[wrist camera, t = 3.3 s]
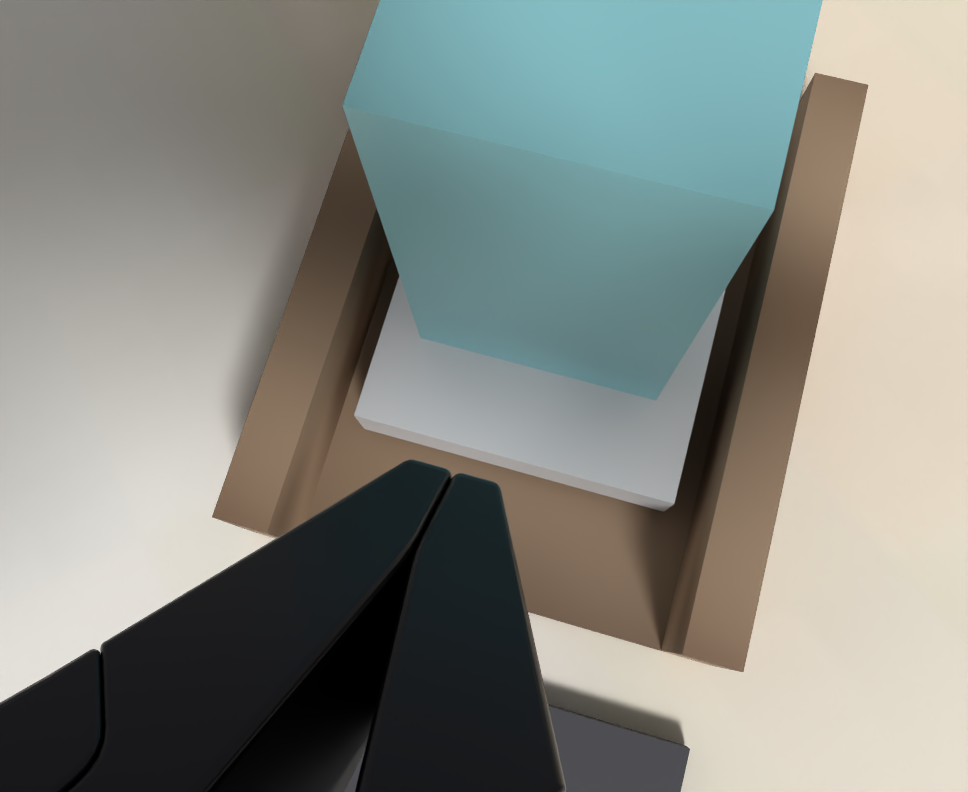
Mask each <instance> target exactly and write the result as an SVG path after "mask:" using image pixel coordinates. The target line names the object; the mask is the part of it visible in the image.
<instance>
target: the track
mask: <svg viewBox="0 0 968 792" xmlns="http://www.w3.org/2000/svg"><path fill="white" fill-rule="evenodd" d="M867 89H868V85H867V84H862V83H858V82H853V81H849V80H844V79H840V78H836V77H831V76H827V75H822V74H818V73H815V74H814V76H813V78H812V80H811V82H810V83H809V85H808V87H807V89H806V91H805V93H804V95H803V96H802V98H801V100H800V102H799V104H798V109H797V113H796V117H795V122H794V126H793V130H792V135H791V139H790V143H789V148H788V152H787V156H786V161H785V165H784V169H783V174H782V178H781V182H780V187H779V191H778V195H777V200H776V204H775V208H774V211H773V213H772V214H771V216H770V217H769V219H768V221H767V222H766V224H765V226H764V227H763V229H762V230H761V232H760V234H759V235H758V237H757V238H756V240H755V242H754V243H753V245H752V247H751V248H750V250H749V251H748V253H747V255H746V256H745V258H744V259H743V261H742V263H741V264H740V266H739V267H738V269H737V271H736V272H735V274H734V276H733V277H732V279H731V280H730V282H729V284H728V285H727V287H726V289H725V294H724V298H723V302H722V306H721V310H720V315H719V319H718V323H717V327H716V331H715V336H714V340H713V344H712V348H711V352H710V356H709V361H708V365H707V369H706V373H705V377H704V382H703V386H702V390H701V394H700V398H699V403H698V407H697V411H696V415H695V419H694V423H693V428H692V432H691V436H690V440H689V444H688V449H687V453H686V457H685V461H684V465H683V469H682V474H681V478H680V482H679V486H678V490H677V495H676V499H675V503H674V504H673V505H672V506H671V507H670V508H668V509H667V510H666V511H664V512H663V511H659V510H655V509H652V508H648V507H645V506H641V505H637V504H634V503H630V502H627V501H623V500H619V499H616V498H612V497H608V496H605V495H601V494H598V493H594V492H590V491H587V490H583V489H580V488H576V487H572V486H569V485H565V484H562V483H558V482H554V481H551V480H547V479H544V478H540V477H536V476H533V475H529V474H525V473H522V472H518V471H515V470H511V469H507V468H504V467H500V466H497V465H493V464H489V463H486V462H482V461H479V460H475V459H471V458H468V457H464V456H461V455H457V454H453V453H450V452H446V451H442V450H439V449H435V448H432V447H428V446H424V445H421V444H417V443H414V442H410V441H406V440H403V439H399V438H396V437H392V436H388V435H385V434H381V433H377V432H374V431H370V430H367V429H364V428H363V426H362V425H361V424H360V423H359V421H358V420H357V419H356V418H355V416H354V414H355V411H356V408H357V404H358V401H359V398H360V395H361V392H362V389H363V386H364V383H365V380H366V377H367V374H368V371H369V368H370V364H371V361H372V358H373V355H374V352H375V349H376V346H377V343H378V340H379V337H380V334H381V331H382V328H383V325H384V321H385V318H386V315H387V312H388V309H389V306H390V303H391V300H392V297H393V294H394V291H395V288H396V285H397V281H398V278H399V273H398V270H397V267H396V264H395V261H394V258H393V255H392V252H391V249H390V246H389V243H388V240H387V237H386V234H385V231H384V228H383V225H382V222H381V219H380V216H379V213H378V210H377V207H376V204H375V201H374V199H373V196H372V193H371V190H370V187H369V184H368V181H367V178H366V175H365V172H364V169H363V166H362V163H361V160H360V157H359V154H358V151H357V148H356V145H355V142H354V139H353V136H352V133H351V130H350V127H349V129H348V132H347V135H346V138H345V141H344V144H343V147H342V149H341V152H340V155H339V158H338V161H337V164H336V166H335V169H334V172H333V175H332V178H331V181H330V183H329V186H328V189H327V192H326V195H325V198H324V200H323V203H322V206H321V209H320V212H319V215H318V217H317V220H316V223H315V226H314V229H313V232H312V235H311V237H310V240H309V243H308V246H307V249H306V252H305V254H304V257H303V260H302V263H301V266H300V269H299V271H298V274H297V277H296V280H295V283H294V286H293V288H292V291H291V294H290V297H289V300H288V303H287V305H286V308H285V311H284V314H283V317H282V320H281V323H280V325H279V328H278V331H277V334H276V337H275V340H274V342H273V345H272V348H271V351H270V354H269V357H268V359H267V362H266V365H265V368H264V371H263V374H262V376H261V379H260V382H259V385H258V388H257V391H256V393H255V396H254V399H253V402H252V405H251V408H250V411H249V413H248V416H247V419H246V422H245V425H244V428H243V430H242V433H241V436H240V439H239V442H238V445H237V447H236V450H235V453H234V456H233V459H232V462H231V464H230V467H229V470H228V473H227V476H226V479H225V481H224V484H223V487H222V490H221V493H220V496H219V499H218V501H217V504H216V507H215V510H214V513H213V516H212V517H213V518H216V519H219V520H222V521H224V522H227V523H230V524H233V525H236V526H239V527H242V528H244V529H247V530H250V531H253V532H256V533H260V534H263V535H267V536H270V537H274V538H278V537H279V536H281V535H283V534H284V533H286V532H288V531H289V530H291V529H293V528H294V527H296V526H298V525H299V524H301V523H303V522H304V521H306V520H308V519H309V518H311V517H313V516H314V515H316V514H318V513H319V512H321V511H323V510H324V509H326V508H328V507H329V506H331V505H333V504H334V503H336V502H338V501H339V500H341V499H342V498H344V497H346V496H347V495H349V494H351V493H352V492H354V491H356V490H357V489H359V488H361V487H362V486H364V485H366V484H367V483H369V482H371V481H372V480H374V479H376V478H377V477H379V476H381V475H382V474H384V473H386V472H387V471H389V470H391V469H392V468H394V467H396V466H397V465H399V464H401V463H402V462H404V461H406V460H410V459H413V460H418V461H422V462H425V463H429V464H432V465H436V466H439V467H443V468H446V469H448V470H449V471H450V472H451V474H452V477H453V476H454V475H456V474H458V473H464V474H468V475H472V476H475V477H479V478H482V479H486V480H489V481H493V482H495V483H497V484H498V485H499V487H500V489H501V492H502V496H503V501H504V505H505V510H506V514H507V519H508V524H509V528H510V533H511V537H512V542H513V546H514V551H515V556H516V560H517V565H518V569H519V574H520V579H521V583H522V588H523V592H524V597H525V601H526V606H527V611H528V612H530V613H534V614H537V615H541V616H544V617H547V618H551V619H554V620H558V621H561V622H564V623H568V624H571V625H575V626H578V627H582V628H585V629H588V630H592V631H595V632H599V633H602V634H606V635H609V636H612V637H616V638H619V639H623V640H626V641H630V642H633V643H636V644H640V645H643V646H647V647H650V648H653V649H657V650H660V651H664V652H667V653H671V654H674V655H677V656H681V657H684V658H688V659H691V660H695V661H698V662H701V663H705V664H708V665H712V666H716V667H721V668H726V669H731V670H735V671H740V672H743V671H744V666H745V662H746V657H747V652H748V648H749V643H750V638H751V633H752V629H753V624H754V619H755V615H756V610H757V605H758V601H759V596H760V591H761V586H762V582H763V577H764V572H765V568H766V563H767V558H768V554H769V549H770V544H771V540H772V535H773V530H774V525H775V521H776V516H777V511H778V507H779V502H780V497H781V493H782V488H783V483H784V478H785V474H786V469H787V464H788V460H789V455H790V450H791V446H792V441H793V436H794V431H795V427H796V422H797V417H798V413H799V408H800V403H801V399H802V394H803V389H804V385H805V380H806V375H807V370H808V366H809V361H810V356H811V352H812V347H813V342H814V338H815V333H816V328H817V323H818V319H819V314H820V309H821V305H822V300H823V295H824V291H825V286H826V281H827V276H828V272H829V267H830V262H831V258H832V253H833V248H834V244H835V239H836V234H837V230H838V225H839V220H840V215H841V211H842V206H843V201H844V197H845V192H846V187H847V183H848V178H849V173H850V168H851V164H852V159H853V154H854V150H855V145H856V140H857V136H858V131H859V126H860V121H861V117H862V112H863V107H864V103H865V98H866V93H867Z"/></svg>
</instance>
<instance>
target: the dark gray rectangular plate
mask: <svg viewBox="0 0 968 792" xmlns="http://www.w3.org/2000/svg"><path fill="white" fill-rule="evenodd" d="M548 707H549V711H550V716H551V721H552V725H553V730H554V734H555V739H556V743H557V748H558V753H559V757H560V762H561V766H562V771H563V775H564V780H565V785H566V792H680V791H681V787H682V782H683V778H684V773H685V769H686V764H687V760H688V755H689V751H690V749H689V748H688V747H687V746H684V745H681V744H678V743H674V742H671V741H668V740H664V739H661V738H658V737H654V736H651V735H648V734H644V733H641V732H638V731H635V730H631V729H628V728H625V727H621V726H618V725H615V724H611V723H608V722H605V721H601V720H598V719H595V718H591V717H588V716H585V715H581V714H578V713H575V712H572V711H568V710H565V709H562V708H558V707H555V706H552V705H548ZM364 752H365V751H364ZM363 756H364V753H363V755H362V757H361V759H360V761H359V763H358V765H357V767H356V769H355V771H354V773H353V775H352V777H351V779H350V781H349V783H348V785H347V787H346V789H345V791H344V792H355V789H356V785H357V781H358V777H359V773H360V768H361V764H362V760H363Z"/></svg>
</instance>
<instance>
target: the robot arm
mask: <svg viewBox="0 0 968 792" xmlns="http://www.w3.org/2000/svg"><path fill="white" fill-rule="evenodd" d="M100 652H101V655H100ZM100 652H99V651H98V650H96V649H92V650H90V651H88V652H86V653H85V654H83V655H81V656H80V657H78V658H76V659H75V660H73V661H71V662H70V663H68V664H66V665H65V666H63V667H61V668H60V669H58V670H56V671H55V672H53V673H51V674H50V675H48V676H46V677H45V678H43V679H41V680H39V681H38V682H36V683H34V684H32V685H31V686H29V687H27V688H25V689H23V690H22V691H20V692H18V693H16V694H15V695H13V696H11V697H9V698H8V699H6V700H4V701H2V702H1V703H0V792H344V791H345V789H346V787H347V785H348V783H349V781H350V779H351V777H352V775H353V773H354V771H355V769H356V767H357V765H358V763H359V761H360V759H361V757H362V755H363V753H364V756H363V760H362V764H361V768H360V773H359V777H358V781H357V785H356V789H355V792H566V785H565V780H564V775H563V771H562V766H561V762H560V757H559V753H558V748H557V743H556V739H555V734H554V730H553V725H552V721H551V716H550V711H549V707H548V702H547V698H546V693H545V688H544V684H543V679H542V675H541V670H540V666H539V661H538V656H537V652H536V647H535V643H534V638H533V633H532V629H531V624H530V620H529V615H528V611H527V606H526V601H525V597H524V592H523V588H522V583H521V579H520V574H519V569H518V565H517V560H516V556H515V551H514V546H513V542H512V537H511V533H510V528H509V524H508V519H507V514H506V510H505V505H504V501H503V496H502V492H501V489H500V487H499V485H498V484H497V483H495V482H493V481H489V480H486V479H482V478H479V477H475V476H472V475H468V474H464V473H458V474H456V475H454V476H453V477H452V474H451V472H450V471H449V470H448V469H446V468H443V467H439V466H436V465H432V464H429V463H425V462H422V461H418V460H413V459H410V460H406V461H404V462H402V463H401V464H399V465H397V466H396V467H394V468H392V469H391V470H389V471H387V472H386V473H384V474H382V475H381V476H379V477H377V478H376V479H374V480H372V481H371V482H369V483H367V484H366V485H364V486H362V487H361V488H359V489H357V490H356V491H354V492H352V493H351V494H349V495H347V496H346V497H344V498H342V499H341V500H339V501H338V502H336V503H334V504H333V505H331V506H329V507H328V508H326V509H324V510H323V511H321V512H319V513H318V514H316V515H314V516H313V517H311V518H309V519H308V520H306V521H304V522H303V523H301V524H299V525H298V526H296V527H294V528H293V529H291V530H289V531H288V532H286V533H284V534H283V535H281V536H279V537H278V538H276V539H274V540H273V541H271V542H269V543H268V544H266V545H265V546H263V547H261V548H260V549H258V550H256V551H255V552H253V553H251V554H250V555H248V556H246V557H245V558H243V559H241V560H240V561H238V562H236V563H235V564H233V565H231V566H230V567H228V568H226V569H225V570H223V571H221V572H220V573H218V574H216V575H215V576H213V577H211V578H210V579H208V580H206V581H205V582H203V583H201V584H200V585H198V586H197V587H195V588H193V589H192V590H190V591H188V592H187V593H185V594H183V595H182V596H180V597H178V598H177V599H175V600H173V601H172V602H170V603H168V604H167V605H165V606H163V607H162V608H160V609H158V610H157V611H155V612H153V613H152V614H150V615H148V616H147V617H145V618H143V619H142V620H140V621H138V622H137V623H135V624H133V625H132V626H130V627H128V628H127V629H125V630H124V631H122V632H120V633H119V634H117V635H115V636H114V637H112V638H110V639H109V640H107V641H105V642H104V643H103V644H102V645H101V648H100ZM364 751H365V752H364Z"/></svg>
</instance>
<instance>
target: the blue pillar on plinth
mask: <svg viewBox="0 0 968 792" xmlns="http://www.w3.org/2000/svg"><path fill="white" fill-rule="evenodd" d="M821 5H822V0H380V1H379V4H378V7H377V10H376V13H375V15H374V18H373V21H372V24H371V27H370V29H369V32H368V35H367V38H366V41H365V43H364V46H363V49H362V52H361V55H360V58H359V60H358V63H357V66H356V69H355V72H354V74H353V77H352V80H351V83H350V86H349V88H348V91H347V94H346V97H345V100H344V102H343V105H342V106H343V109H344V112H345V115H346V118H347V121H348V124H349V127H350V130H351V133H352V136H353V139H354V142H355V145H356V148H357V151H358V154H359V157H360V160H361V163H362V166H363V169H364V172H365V175H366V178H367V181H368V184H369V187H370V190H371V193H372V196H373V199H374V201H375V204H376V207H377V210H378V213H379V216H380V219H381V222H382V225H383V228H384V231H385V234H386V237H387V240H388V243H389V246H390V249H391V252H392V255H393V258H394V261H395V264H396V267H397V270H398V273H399V278H398V281H397V285H396V288H395V291H394V294H393V297H392V300H391V303H390V306H389V309H388V312H387V315H386V318H385V321H384V325H383V328H382V331H381V334H380V337H379V340H378V343H377V346H376V349H375V352H374V355H373V358H372V361H371V364H370V368H369V371H368V374H367V377H366V380H365V383H364V386H363V389H362V392H361V395H360V398H359V401H358V404H357V408H356V411H355V414H354V416H355V418H356V419H357V420H358V421H359V423H360V424H361V425H362V426H363V428H364V429H367V430H370V431H374V432H377V433H381V434H385V435H388V436H392V437H396V438H399V439H403V440H406V441H410V442H414V443H417V444H421V445H424V446H428V447H432V448H435V449H439V450H442V451H446V452H450V453H453V454H457V455H461V456H464V457H468V458H471V459H475V460H479V461H482V462H486V463H489V464H493V465H497V466H500V467H504V468H507V469H511V470H515V471H518V472H522V473H525V474H529V475H533V476H536V477H540V478H544V479H547V480H551V481H554V482H558V483H562V484H565V485H569V486H572V487H576V488H580V489H583V490H587V491H590V492H594V493H598V494H601V495H605V496H608V497H612V498H616V499H619V500H623V501H627V502H630V503H634V504H637V505H641V506H645V507H648V508H652V509H655V510H659V511H663V512H664V511H666V510H667V509H668V508H670V507H671V506H672V505H673V504H674V503H675V499H676V495H677V490H678V486H679V482H680V478H681V474H682V469H683V465H684V461H685V457H686V453H687V449H688V444H689V440H690V436H691V432H692V428H693V423H694V419H695V415H696V411H697V407H698V403H699V398H700V394H701V390H702V386H703V382H704V377H705V373H706V369H707V365H708V361H709V356H710V352H711V348H712V344H713V340H714V336H715V331H716V327H717V323H718V319H719V315H720V310H721V306H722V302H723V298H724V294H725V289H726V287H727V285H728V284H729V282H730V280H731V279H732V277H733V276H734V274H735V272H736V271H737V269H738V267H739V266H740V264H741V263H742V261H743V259H744V258H745V256H746V255H747V253H748V251H749V250H750V248H751V247H752V245H753V243H754V242H755V240H756V238H757V237H758V235H759V234H760V232H761V230H762V229H763V227H764V226H765V224H766V222H767V221H768V219H769V217H770V216H771V214H772V213H773V211H774V208H775V204H776V200H777V195H778V191H779V187H780V182H781V178H782V174H783V169H784V165H785V161H786V156H787V152H788V148H789V143H790V139H791V135H792V130H793V126H794V122H795V117H796V113H797V109H798V104H799V100H800V96H801V91H802V87H803V83H804V78H805V74H806V70H807V65H808V61H809V57H810V52H811V48H812V44H813V39H814V35H815V31H816V26H817V22H818V18H819V13H820V9H821Z"/></svg>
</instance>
